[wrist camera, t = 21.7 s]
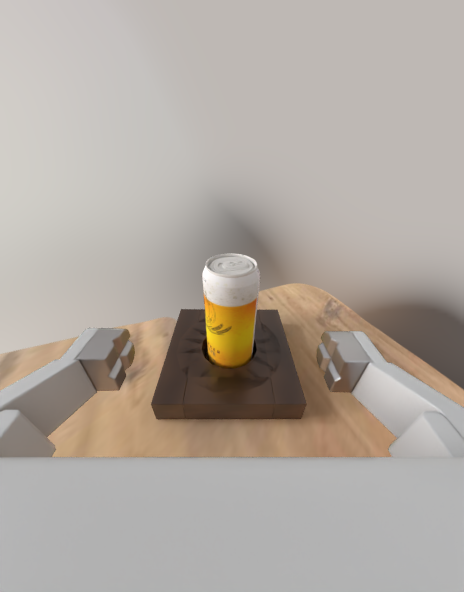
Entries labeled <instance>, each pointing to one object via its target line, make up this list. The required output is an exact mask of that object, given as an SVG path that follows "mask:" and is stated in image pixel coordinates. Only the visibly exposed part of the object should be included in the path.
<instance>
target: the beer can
mask: <svg viewBox="0 0 464 592" xmlns="http://www.w3.org/2000/svg"><path fill="white" fill-rule="evenodd" d="M202 276H203V289H204V304H205V318H206V332H207V345H208V359H209V362H210V363H211V364H212V365H215V366H218V367H221V368H223V369H235V368H238V367H241V366H244V365H246V364H247V363H248V362H250V361H251V360H252V354H253V343H254V333H255V323H256V313H257V303H258V292H259V282H260V272H259V270H258V267H257V263H256V261H255V260H254V259H253V258H251V257H248V256H246V255H241V254H220V255H216V256H213V257H211V258H210V259H208V260H207V262H206V266H205V268H204V271H203V273H202Z"/></svg>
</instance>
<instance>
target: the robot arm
mask: <svg viewBox="0 0 464 592" xmlns="http://www.w3.org/2000/svg"><path fill="white" fill-rule="evenodd" d="M129 338H130V334H129V331H128V330H127V329H113V328H88V329H86V330H84V331H83V333H82V334H81V335H80V336H79V337H78V338H77V340H76V341H75V342H74V343H73V344H72V346H71V347H70V348H69V349H68V350H67V352H66V353H65V354H64V355H63V356H62V357H61V359H60V360H54V361H52V362H50V363H49V364H47V365H45V366H43V367H42V368H40V369H38V370H36V371H34V372H33V373H31V374H29V375H27V376H26V377H24V378H22V379H20V380H18V381H17V382H15V383H13V384H11V385H10V386H8V387H6V388H4V389H3V390H1V391H0V592H464V407H462V406H461V405H459V404H457V403H456V402H454V401H452V400H451V399H449V398H448V397H446V396H444V395H443V394H441V393H439V392H438V391H436V390H435V389H433V388H431V387H430V386H428V385H426V384H425V383H423V382H422V381H420V380H418V379H417V378H415V377H414V376H412V375H410V374H409V373H407V372H405V371H404V370H402V369H401V368H399V367H397V366H396V365H394V364H392V363H387V362H386V360H385V359H384V358H383V356H382V355H381V354H380V352H379V351H378V350H377V349H376V347H375V346H374V345H373V343H372V342H371V341H370V339H369V338H368V337H367V336H366V334H365V333H363V332H362V331H349V332H348V331H325V332H324V333H323V334H322V337H321V339H322V341H323V343H321V344H320V345H319V346H318V349H317V361H318V364H319V367H320V368H321V369H322V370H323V371H324V372H325V375H324V379H325V381H326V383H327V386H328V388H329V390H330V392H352V393H351V394H352V395H353V396H354V397H355V398H356V399H357V400H358V401H359V402H361V403H362V404H363V405H364V406H365V407H366V408H367V409H368V410H369V411H370V412H371V413H372V414H373V415H374V416H375V417H376V418H377V419H378V420H379V421H380V422H381V423H382V424H383V425H384V426H385V427H386V428H387V429H388V430H389V431H390V432H391V433H392V434H394V435H395V436H396V437H397V439H396V440H395V441H394V442H393V443H392V444H391V445H390V446H389V449H388V450H389V452H390V454H391V456H392V457H52V455H53V453H54V452H55V450H56V449H55V445H54V444H53V443H52V442H51V441H50V440H49V439H48V438H47V437H48V436H49V435H50V434H51V433H52V432H53V431H54V430H55V429H57V428H58V427H59V426H60V425H61V424H62V423H63V422H64V421H65V420H67V419H68V418H69V417H70V416H71V415H72V414H73V413H74V412H75V411H77V410H78V409H79V408H80V407H81V406H82V405H83V404H84V403H85V402H87V401H88V400H89V399H90V398H91V397H92V396H93V395H94V394H95V393H97V391H114V390H120V388H121V385H122V383H123V381H124V379H125V377H126V373H125V370H126V369H127V368H129V367H130V366H131V364H132V362H133V359H134V354H135V351H134V345H133V343H132V342H130V341H129V340H128V339H129Z"/></svg>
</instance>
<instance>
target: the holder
mask: <svg viewBox="0 0 464 592" xmlns="http://www.w3.org/2000/svg"><path fill="white" fill-rule="evenodd" d="M207 351H208V345H207V332H206V318H205V310H203V309H201V310H195V309H194V310H191V309H189V310H188V309H181V311H180V314H179V317H178V321H177V324H176V327H175V330H174V333H173V336H172V340H171V343H170V346H169V349H168V352H167V355H166V359H165V362H164V365H163V368H162V371H161V374H160V378H159V381H158V384H157V387H156V390H155V393H154V396H153V400H152V403H151V405H152V408H153V411H154V414H155V416H156V419H301V417H302V414H303V412H304V409H305V406H306V401H305V398H304V394H303V391H302V388H301V385H300V382H299V378H298V375H297V372H296V369H295V365H294V362H293V359H292V356H291V352H290V349H289V346H288V343H287V339H286V336H285V333H284V330H283V326H282V323H281V320H280V317H279V313H278V310H257V313H256V323H255V333H254V343H253V355H254V358H253V359H252V360H251V361H250V362H248V363H247V364H246V365H244V366H241V367H238V368H235V369H223V368H221V367H218V366H215V365H212V364H211V363H210V362H209V361H208V360H207V359H206V358H205V357H204V356H205V354H206V353H207Z"/></svg>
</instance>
